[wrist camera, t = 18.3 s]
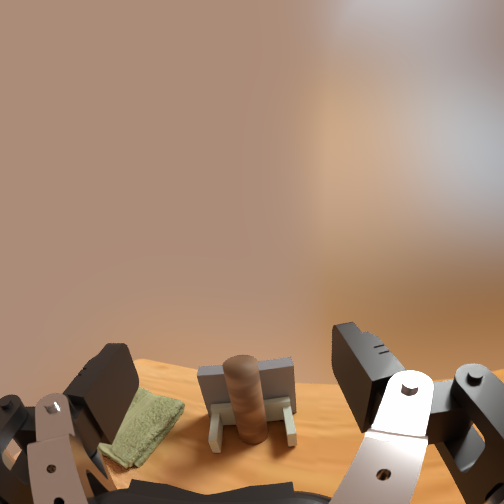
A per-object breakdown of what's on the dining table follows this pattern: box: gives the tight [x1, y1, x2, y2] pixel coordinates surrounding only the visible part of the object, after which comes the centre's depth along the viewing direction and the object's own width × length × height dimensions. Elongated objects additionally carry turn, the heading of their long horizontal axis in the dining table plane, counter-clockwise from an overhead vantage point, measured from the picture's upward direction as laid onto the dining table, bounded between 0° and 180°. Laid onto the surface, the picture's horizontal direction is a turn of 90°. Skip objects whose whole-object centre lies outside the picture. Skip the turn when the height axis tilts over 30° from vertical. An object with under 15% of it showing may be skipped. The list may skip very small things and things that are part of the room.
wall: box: [197, 357, 296, 420], centre depth 39 cm, size 14×2×10 cm, turn 91°
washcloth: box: [98, 387, 185, 468], centre depth 36 cm, size 13×18×3 cm
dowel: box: [223, 355, 268, 444], centre depth 34 cm, size 4×4×14 cm
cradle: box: [208, 396, 297, 453], centre depth 34 cm, size 12×7×4 cm, turn 91°
